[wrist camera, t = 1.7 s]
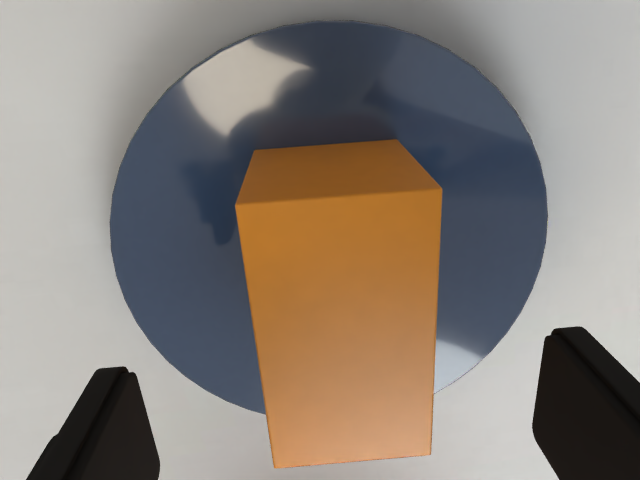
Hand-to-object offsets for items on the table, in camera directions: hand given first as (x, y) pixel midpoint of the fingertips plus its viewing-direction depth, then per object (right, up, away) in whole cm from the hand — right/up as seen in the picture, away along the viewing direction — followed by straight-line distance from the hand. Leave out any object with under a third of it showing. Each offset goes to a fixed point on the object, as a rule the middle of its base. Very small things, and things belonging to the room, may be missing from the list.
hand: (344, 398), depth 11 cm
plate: (0, +4, +7) cm, 8 cm away
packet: (0, +3, +6) cm, 6 cm away
